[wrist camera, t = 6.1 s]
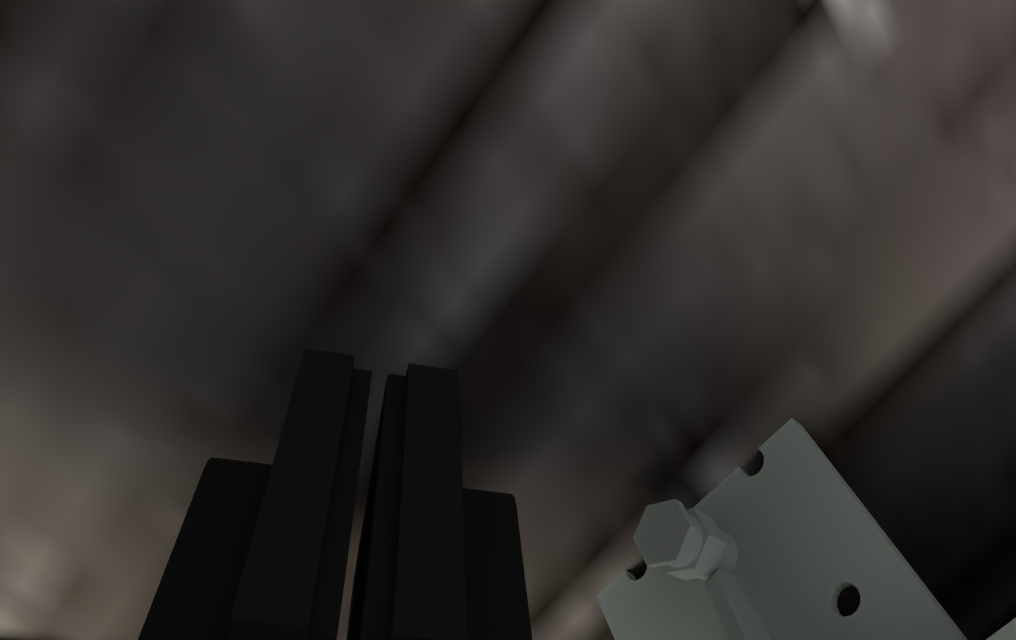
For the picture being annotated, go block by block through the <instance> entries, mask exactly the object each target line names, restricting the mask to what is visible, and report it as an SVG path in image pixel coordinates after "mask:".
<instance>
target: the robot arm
mask: <svg viewBox="0 0 1016 640" xmlns="http://www.w3.org/2000/svg"><path fill="white" fill-rule="evenodd" d="M353 364H354V356H352V355H345V354H338V353H331V352H324V351H317V350H310V349H305V350H304V353H303V356H302V360H301V363H300V367H299V371H298V374H297V378H296V381H295V385H294V389H293V392H292V396H291V400H290V403H289V407H288V411H287V414H286V418H285V421H284V425H283V429H282V432H281V436H280V440H279V443H278V447H277V450H276V454H275V458H274V461H273V465H270V464H262V463H254V462H245V461H237V460H229V459H221V458H213V457H211V458H210V459H209V460H208V461H207V463H206V466H205V468H204V470H203V473H202V475H201V478H200V480H199V483H198V486H197V488H196V491H195V493H194V496H193V498H192V501H191V504H190V506H189V509H188V511H187V514H186V517H185V519H184V522H183V524H182V527H181V530H180V532H179V535H178V537H177V540H176V543H175V545H174V548H173V550H172V553H171V556H170V558H169V561H168V563H167V566H166V568H165V571H164V574H163V576H162V579H161V581H160V584H159V587H158V589H157V592H156V594H155V597H154V600H153V602H152V605H151V607H150V610H149V613H148V615H147V618H146V620H145V623H144V626H143V628H142V631H141V633H140V636H139V638H138V640H336V639H337V632H338V625H339V618H340V611H341V604H342V596H343V589H344V581H345V573H346V566H347V558H348V551H349V543H350V535H351V528H352V520H353V513H354V505H355V497H356V490H357V482H358V475H359V467H360V460H361V452H362V444H363V437H364V429H365V422H366V414H367V406H368V399H369V391H370V384H371V376H372V371H366V370H359V369H353ZM346 640H532V634H531V626H530V617H529V609H528V600H527V592H526V583H525V575H524V567H523V558H522V550H521V541H520V533H519V524H518V516H517V507H516V502H515V498H514V496H513V495H512V494H506V493H498V492H490V491H482V490H474V489H465V488H462V475H461V447H460V418H459V390H458V371H457V370H451V369H444V368H437V367H430V366H423V365H416V364H409V365H408V368H407V373H406V376H402V375H395V374H388V375H387V380H386V386H385V392H384V398H383V404H382V410H381V416H380V422H379V428H378V434H377V440H376V446H375V452H374V459H373V465H372V471H371V477H370V483H369V489H368V495H367V501H366V507H365V513H364V519H363V525H362V531H361V538H360V544H359V550H358V556H357V562H356V568H355V575H354V582H353V589H352V597H351V606H350V614H349V622H348V631H347V639H346Z"/></svg>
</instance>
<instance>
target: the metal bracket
mask: <svg viewBox="0 0 1016 640" xmlns="http://www.w3.org/2000/svg"><path fill="white" fill-rule="evenodd" d="M758 450H760V451H761V452H762V454H763V456H764V465H763V467H762V469H761V471H759V472H758V473H757V474H756V475H753V476H748V474H747V473H746V472H745V471H744V470H742V469H741V468H740V467H739V466H738V467H737V468H736V469H735V470H734V471H733V472H731V473H730V474H729V475H728V476H727V477H726V478H725V479H724V480H723V481H722V482H720V483H719V484H718V485H717V486H716V487H715V488H714V489H713V490H712V491H711V492H710V493H708V494H707V495H706V496H705V497H704V498H703V499H702V500H701V501H700V502H699V503H697V504H696V505H695V506H694V507H693V508H691V509H685V508H684V506H683V504H682V502H681V501H679V500H676V499H672V500H668V501H664V502H659V503H655V504H651V505H647V506H646V509H645V511H644V513H643V516H642V518H641V520H640V522H639V525H638V527H637V529H636V532H635V534H634V536H633V539H634V541H635V543H636V545H637V547H638V549H639V551H640V553H641V555H642V557H643V559H644V561H645V563H646V565H647V570H646V572H645V574H644V576H643V577H641V578H640V579H639V580H636V579H635V576H634V575H632V574H631V573H630V572H628V571H627V570H626V569H625V570H624V571H623V572H622V573H621V574H620V575H618V576H617V577H616V578H615V579H614V580H613V581H612V582H611V583H610V584H609V585H607V586H606V587H605V588H604V589H603V590H602V591H601V592H600V593H599V594H598V595H597V596H596V597H597V600H598V602H599V604H600V607H601V609H602V611H603V614H604V616H605V618H606V621H607V623H608V625H609V628H610V630H611V632H612V635H613V637H614V639H615V640H967V638H966V637H965V636H964V635H963V633H962V632H961V631H960V629H959V628H958V627H957V625H956V624H955V623H954V622H953V620H952V619H951V618H950V616H949V615H948V614H947V613H946V611H945V610H944V609H943V607H942V606H941V605H940V603H939V602H938V601H937V600H936V598H935V597H934V596H933V594H932V593H931V592H930V591H929V589H928V588H927V587H926V585H925V584H924V583H923V581H922V580H921V579H920V578H919V576H918V575H917V574H916V572H915V571H914V570H913V569H912V567H911V566H910V565H909V563H908V562H907V561H906V560H905V558H904V557H903V556H902V554H901V553H900V552H899V550H898V549H897V548H896V547H895V545H894V544H893V543H892V541H891V540H890V539H889V538H888V536H887V535H886V534H885V532H884V531H883V530H882V528H881V527H880V526H879V525H878V523H877V522H876V521H875V519H874V518H873V517H872V516H871V514H870V513H869V512H868V510H867V509H866V508H865V506H864V505H863V504H862V503H861V501H860V500H859V499H858V497H857V496H856V495H855V494H854V492H853V491H852V490H851V488H850V487H849V486H848V484H847V483H846V482H845V481H844V479H843V478H842V477H841V475H840V474H839V473H838V472H837V470H836V469H835V468H834V466H833V465H832V464H831V462H830V461H829V460H828V459H827V457H826V456H825V455H824V453H823V452H822V451H821V450H820V448H819V447H818V446H817V444H816V443H815V442H814V440H813V439H812V438H811V437H810V435H809V434H808V433H807V431H806V430H805V429H804V428H803V426H802V425H801V424H799V423H798V422H797V421H796V420H794V419H793V418H791V419H790V420H788V421H787V422H786V423H785V424H784V425H783V426H782V427H781V428H780V429H779V430H778V431H776V432H775V433H774V434H773V435H772V436H771V437H770V438H769V439H768V440H767V441H765V442H764V443H763V444H762V445H761V446H760V447H759V448H758ZM849 586H855V587H856V588H857V589H858V591H859V594H860V605H859V607H858V609H857V611H856V612H854V613H853V614H852V615H850V616H845V617H843V616H842V615H841V614H840V612H839V610H838V607H837V598H838V596H839V594H840V592H841V591H842V590H843V589H845V588H846V587H849ZM986 640H1016V618H1014V619H1013V620H1012V621H1010V622H1009V623H1008V624H1006V625H1005V626H1004V627H1002V628H1001V629H1000V630H998V631H997V632H996V633H994V634H993V635H992V636H990V637H989V638H988V639H986Z"/></svg>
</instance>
